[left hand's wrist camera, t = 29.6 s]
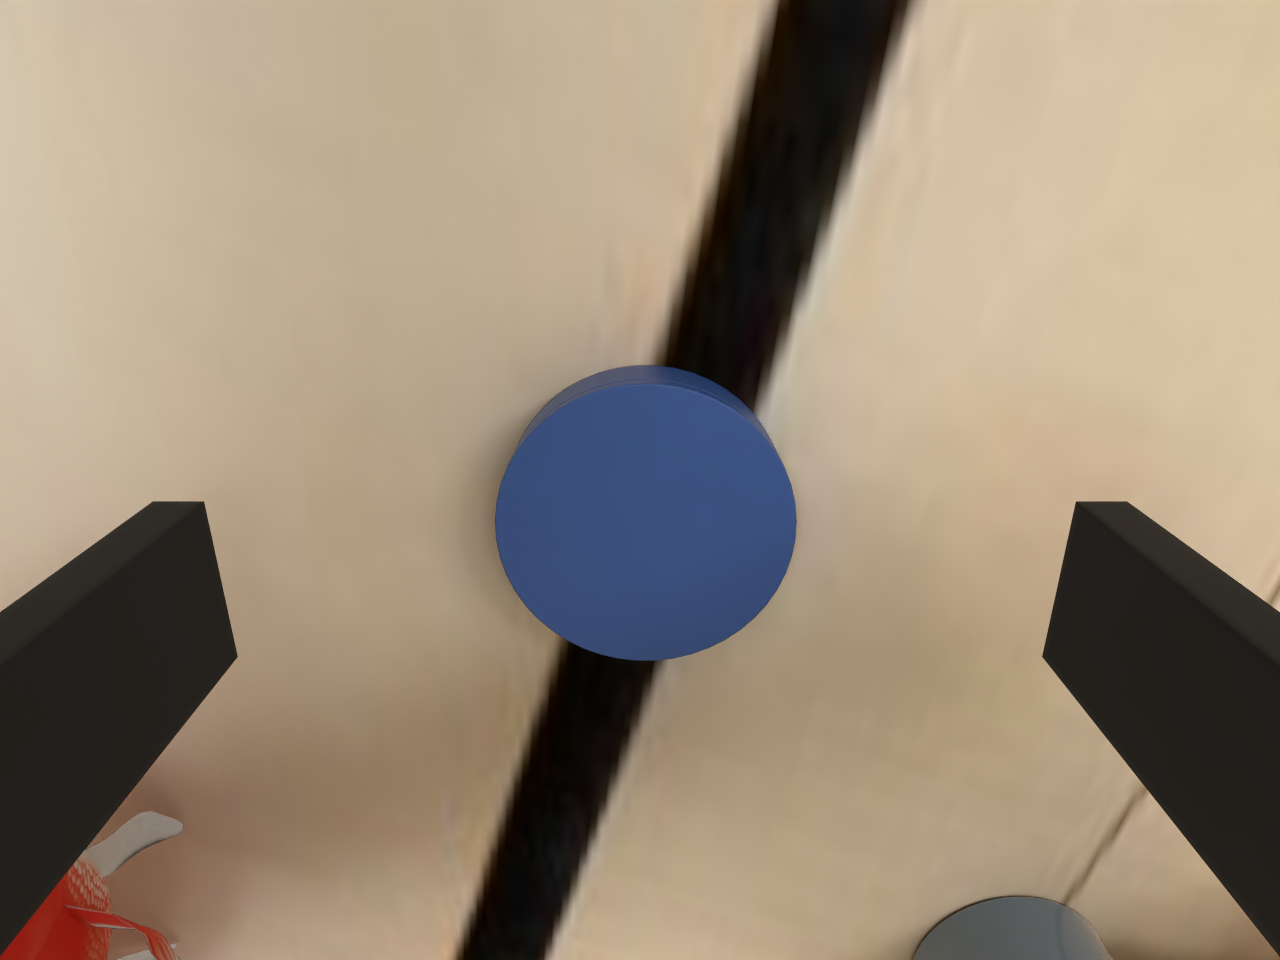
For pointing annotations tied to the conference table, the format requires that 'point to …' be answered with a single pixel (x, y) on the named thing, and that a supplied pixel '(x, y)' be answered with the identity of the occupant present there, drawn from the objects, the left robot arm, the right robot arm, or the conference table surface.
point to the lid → (645, 514)
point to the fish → (93, 902)
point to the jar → (1014, 933)
